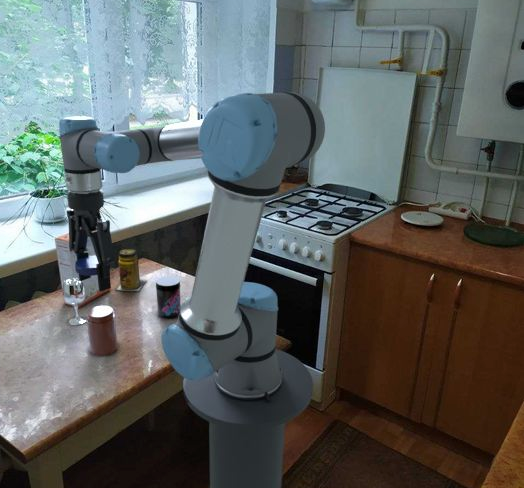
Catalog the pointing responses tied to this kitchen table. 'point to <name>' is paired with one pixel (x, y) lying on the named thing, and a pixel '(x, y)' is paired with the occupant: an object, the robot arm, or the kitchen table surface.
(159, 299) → the supplement container
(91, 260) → the lid
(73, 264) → the cracker box
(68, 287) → the wineglass
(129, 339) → the kitchen table surface
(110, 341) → the jar
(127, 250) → the condiment
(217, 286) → the robot arm
